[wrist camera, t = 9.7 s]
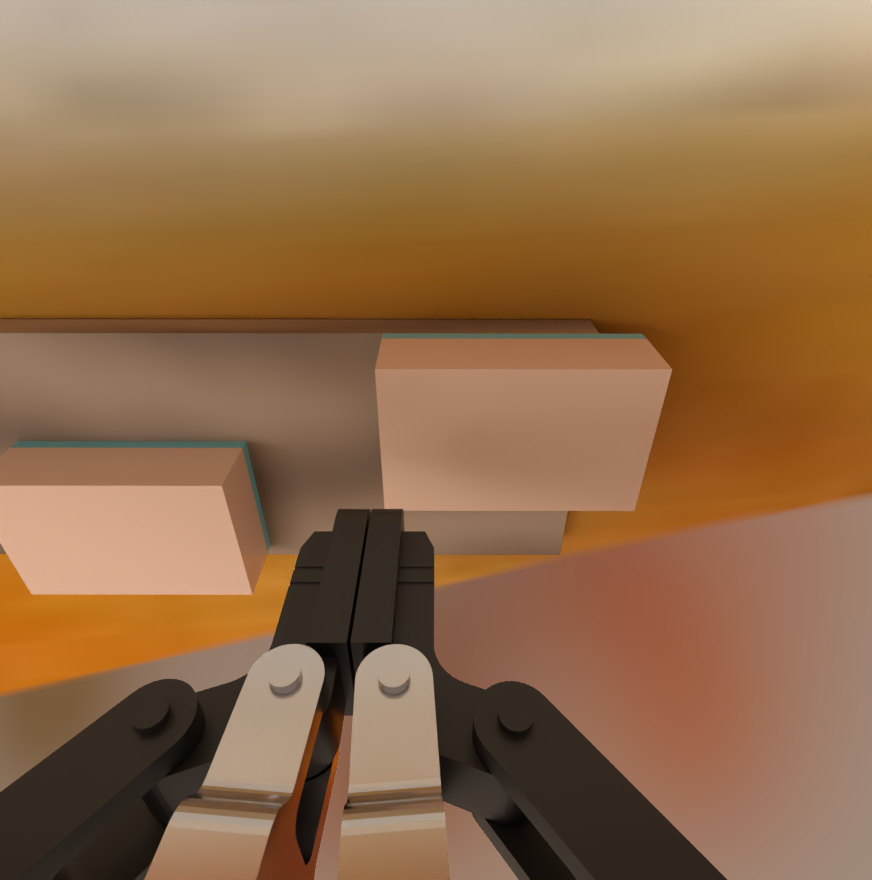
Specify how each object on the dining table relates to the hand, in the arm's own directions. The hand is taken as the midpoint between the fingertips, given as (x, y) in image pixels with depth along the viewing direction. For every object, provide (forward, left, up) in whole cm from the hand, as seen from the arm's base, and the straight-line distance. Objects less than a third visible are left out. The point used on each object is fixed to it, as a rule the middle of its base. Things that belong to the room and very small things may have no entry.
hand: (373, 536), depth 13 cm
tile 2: (0, 0, -5) cm, 5 cm away
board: (+2, -8, -8) cm, 11 cm away
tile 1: (+4, -13, -5) cm, 15 cm away
